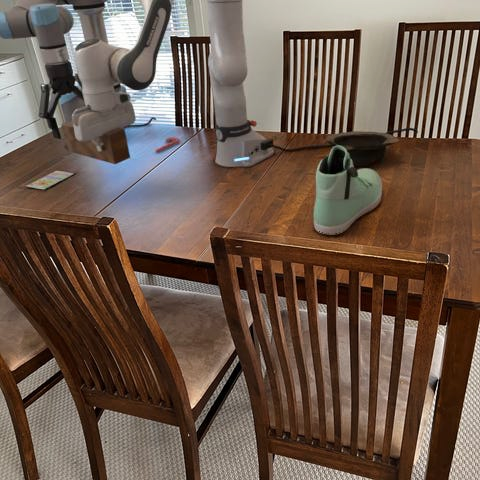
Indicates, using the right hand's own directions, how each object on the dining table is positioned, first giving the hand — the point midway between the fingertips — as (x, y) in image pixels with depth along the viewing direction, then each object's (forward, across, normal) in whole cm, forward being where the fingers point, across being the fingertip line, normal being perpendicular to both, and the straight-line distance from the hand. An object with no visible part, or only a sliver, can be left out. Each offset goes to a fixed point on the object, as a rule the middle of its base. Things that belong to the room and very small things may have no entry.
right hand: (111, 146), depth 145 cm
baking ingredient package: (+18, -3, +36) cm, 40 cm away
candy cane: (+18, +42, +22) cm, 51 cm away
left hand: (-2, 0, +17) cm, 17 cm away
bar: (+4, 0, +7) cm, 8 cm away
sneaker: (+18, +30, -64) cm, 73 cm away
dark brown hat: (+19, +66, -51) cm, 85 cm away
